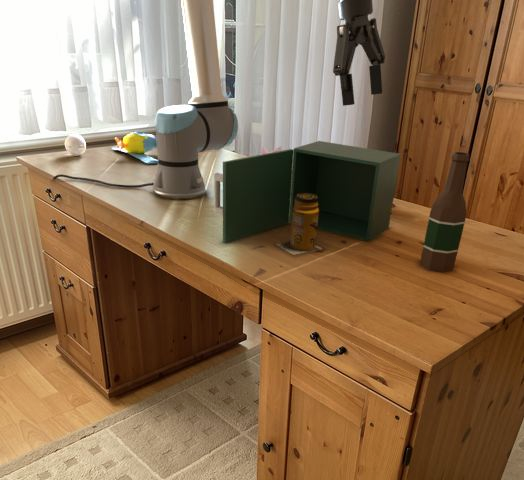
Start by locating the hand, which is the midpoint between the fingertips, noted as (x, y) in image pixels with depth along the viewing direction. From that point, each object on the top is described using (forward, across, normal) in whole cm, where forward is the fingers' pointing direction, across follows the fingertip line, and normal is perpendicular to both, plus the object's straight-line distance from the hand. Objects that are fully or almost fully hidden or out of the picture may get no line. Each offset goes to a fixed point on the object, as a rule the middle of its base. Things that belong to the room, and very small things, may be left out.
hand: (363, 99), depth 132 cm
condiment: (+26, -31, +2) cm, 41 cm away
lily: (+23, +14, +46) cm, 53 cm away
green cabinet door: (+23, -30, +18) cm, 42 cm away
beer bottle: (+33, -19, -26) cm, 46 cm away
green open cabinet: (+28, -11, +4) cm, 30 cm away
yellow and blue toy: (+12, +4, +98) cm, 99 cm away
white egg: (+7, -12, +112) cm, 112 cm away
